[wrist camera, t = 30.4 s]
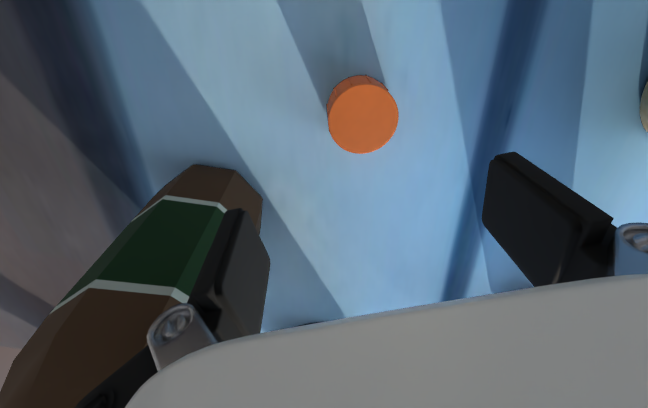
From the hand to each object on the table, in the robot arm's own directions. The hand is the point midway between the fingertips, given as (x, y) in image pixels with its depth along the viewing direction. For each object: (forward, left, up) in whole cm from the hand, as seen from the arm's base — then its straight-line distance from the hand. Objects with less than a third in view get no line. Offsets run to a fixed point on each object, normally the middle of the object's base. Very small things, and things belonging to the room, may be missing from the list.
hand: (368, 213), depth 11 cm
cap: (0, +2, -7) cm, 7 cm away
